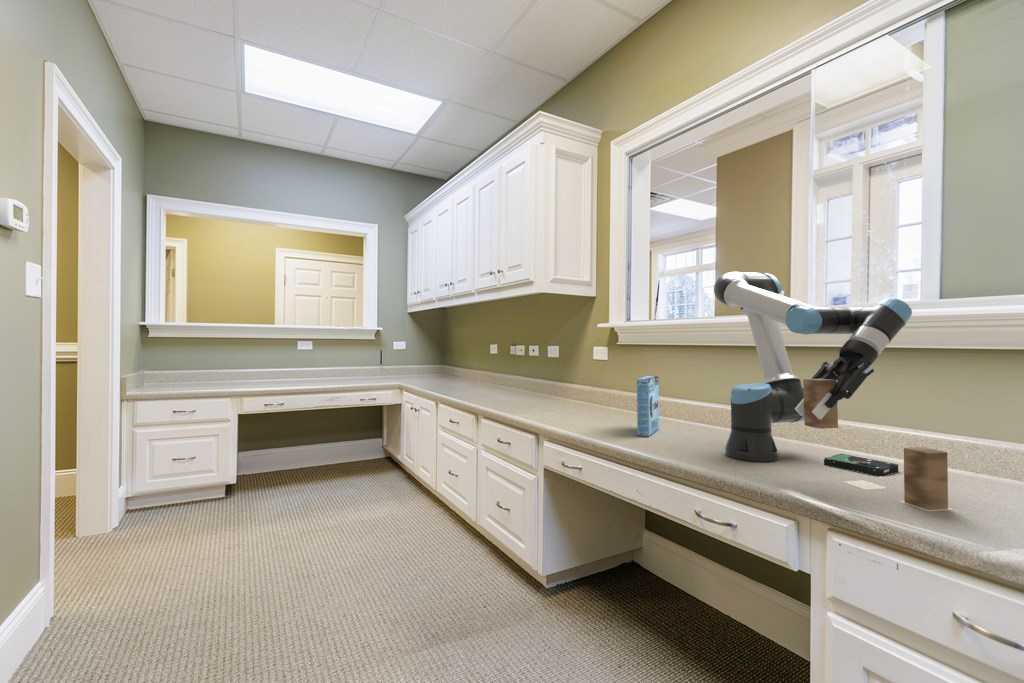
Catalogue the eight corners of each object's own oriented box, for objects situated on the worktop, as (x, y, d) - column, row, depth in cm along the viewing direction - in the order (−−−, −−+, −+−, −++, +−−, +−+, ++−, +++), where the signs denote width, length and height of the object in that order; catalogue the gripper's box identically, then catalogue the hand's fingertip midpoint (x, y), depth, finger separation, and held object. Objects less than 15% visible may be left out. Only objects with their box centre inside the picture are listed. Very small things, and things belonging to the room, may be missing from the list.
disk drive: (899, 474, 129) (840, 461, 142) (899, 464, 129) (840, 452, 142) (882, 479, 124) (822, 466, 137) (882, 469, 124) (823, 457, 137)
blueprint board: (818, 483, 118) (818, 478, 118) (889, 483, 118) (889, 478, 118) (890, 517, 95) (890, 511, 95) (978, 517, 95) (978, 511, 95)
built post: (904, 501, 101) (903, 447, 101) (923, 500, 102) (922, 447, 102) (928, 510, 96) (927, 453, 96) (948, 508, 97) (947, 452, 97)
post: (804, 425, 118) (803, 379, 118) (821, 424, 118) (820, 378, 119) (820, 428, 113) (818, 380, 113) (838, 427, 114) (836, 379, 114)
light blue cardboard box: (649, 437, 178) (648, 379, 178) (636, 436, 181) (635, 378, 181) (659, 429, 195) (659, 375, 195) (647, 428, 198) (647, 375, 198)
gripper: (906, 358, 109) (847, 430, 107) (842, 357, 127) (791, 418, 124) (886, 337, 108) (826, 408, 106) (824, 338, 126) (772, 400, 124)
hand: (807, 414), depth 115 cm, fingers closed on post, 5 cm apart
